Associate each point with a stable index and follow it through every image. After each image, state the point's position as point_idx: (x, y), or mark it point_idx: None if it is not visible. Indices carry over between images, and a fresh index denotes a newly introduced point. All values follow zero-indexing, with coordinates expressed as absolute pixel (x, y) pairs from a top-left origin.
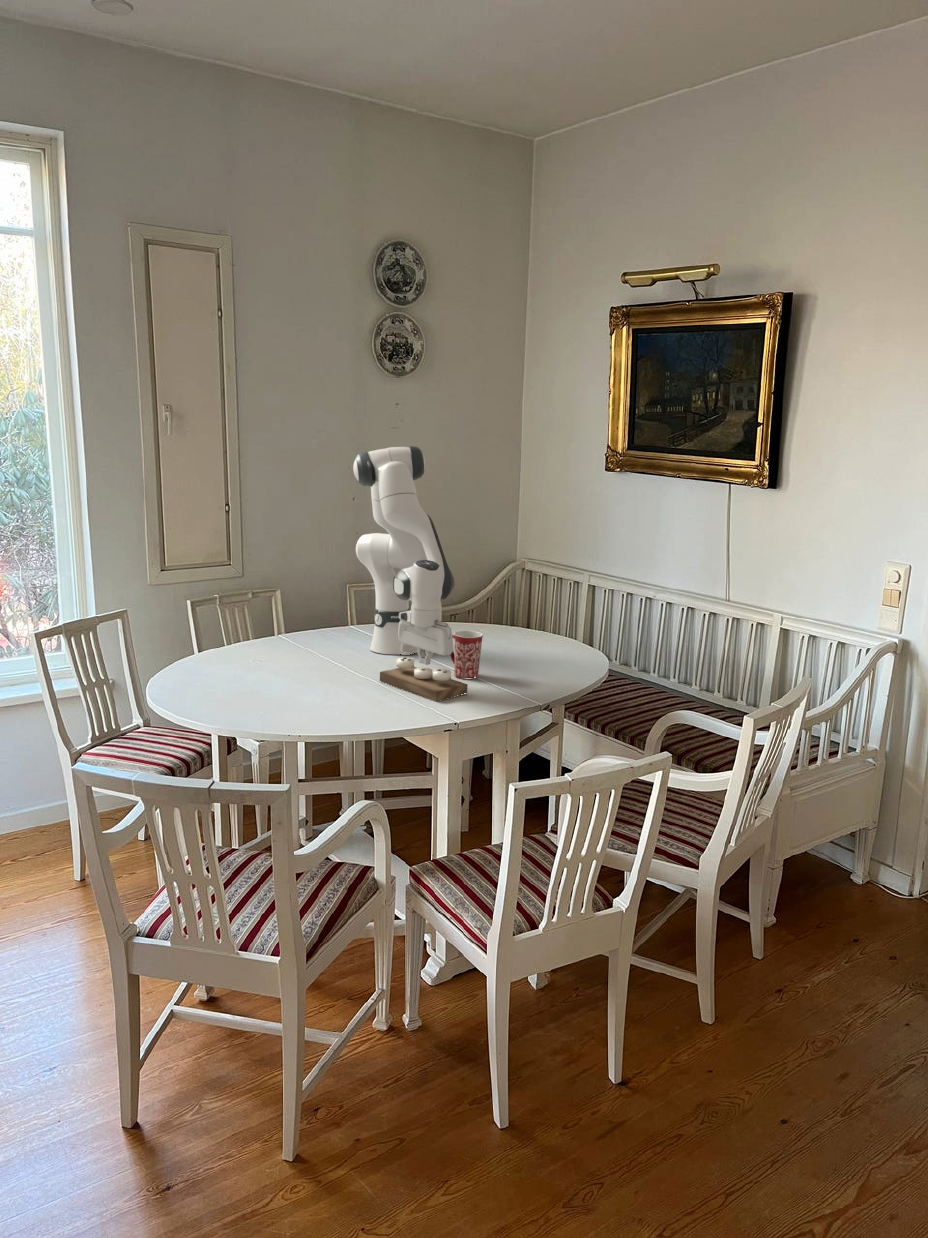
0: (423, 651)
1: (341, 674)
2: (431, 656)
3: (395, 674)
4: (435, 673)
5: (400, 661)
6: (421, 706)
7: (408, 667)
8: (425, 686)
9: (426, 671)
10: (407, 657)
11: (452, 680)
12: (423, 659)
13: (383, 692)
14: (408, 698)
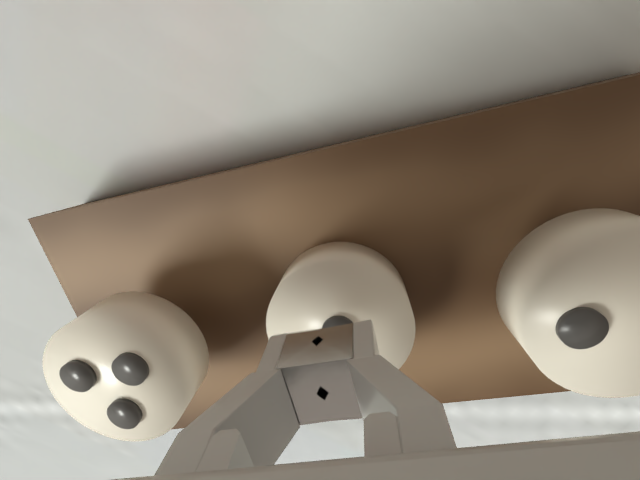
0: (230, 425)
1: (29, 457)
2: (402, 378)
3: (209, 395)
4: (626, 392)
5: (156, 436)
6: (626, 427)
7: (206, 363)
8: (528, 380)
9: (391, 331)
10: (50, 340)
11: (516, 130)
12: (344, 410)
13: (331, 451)
14: (473, 413)
